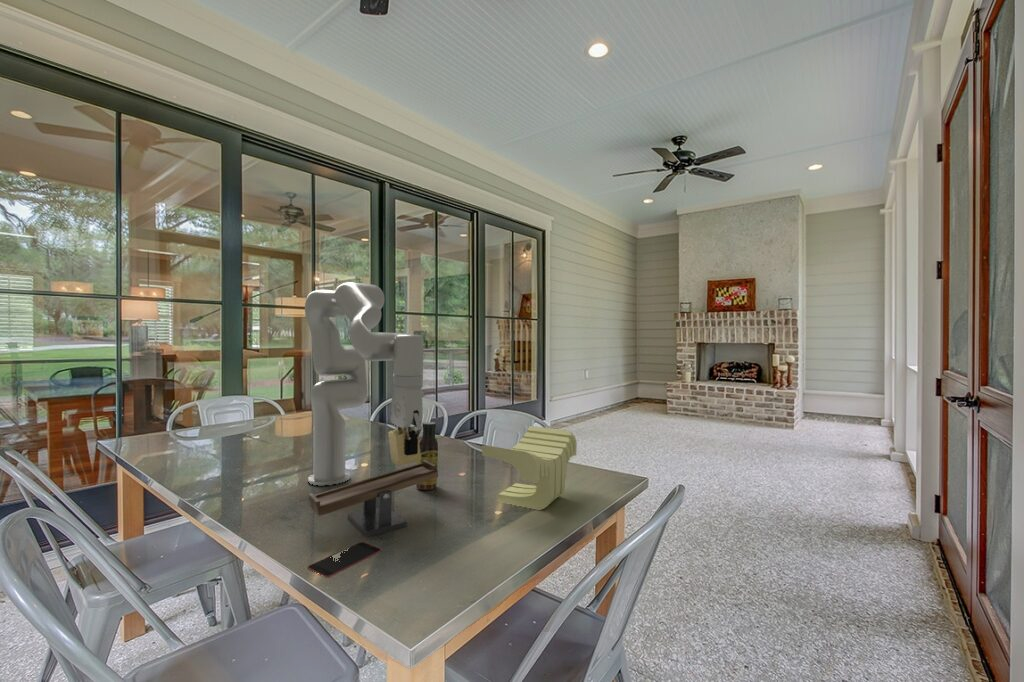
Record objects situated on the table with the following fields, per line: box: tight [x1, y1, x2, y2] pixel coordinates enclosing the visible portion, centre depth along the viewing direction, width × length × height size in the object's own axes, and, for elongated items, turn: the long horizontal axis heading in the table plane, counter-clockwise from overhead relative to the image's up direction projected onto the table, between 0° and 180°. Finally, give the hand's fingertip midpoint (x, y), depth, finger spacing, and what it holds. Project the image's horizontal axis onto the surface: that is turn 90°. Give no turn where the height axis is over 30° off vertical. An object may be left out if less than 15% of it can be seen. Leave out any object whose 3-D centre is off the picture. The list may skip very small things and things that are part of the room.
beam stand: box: [347, 490, 408, 538], centre depth 115 cm, size 13×10×9 cm
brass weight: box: [387, 425, 421, 467], centre depth 119 cm, size 5×6×8 cm
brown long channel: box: [307, 460, 439, 517], centre depth 115 cm, size 8×30×4 cm, turn 128°
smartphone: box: [307, 541, 382, 578], centre depth 96 cm, size 7×1×14 cm
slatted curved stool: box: [481, 425, 578, 511], centre depth 132 cm, size 30×16×18 cm, turn 153°
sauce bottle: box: [416, 421, 439, 491], centre depth 141 cm, size 6×6×20 cm
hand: (406, 451), depth 120 cm, fingers closed on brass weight, 5 cm apart
